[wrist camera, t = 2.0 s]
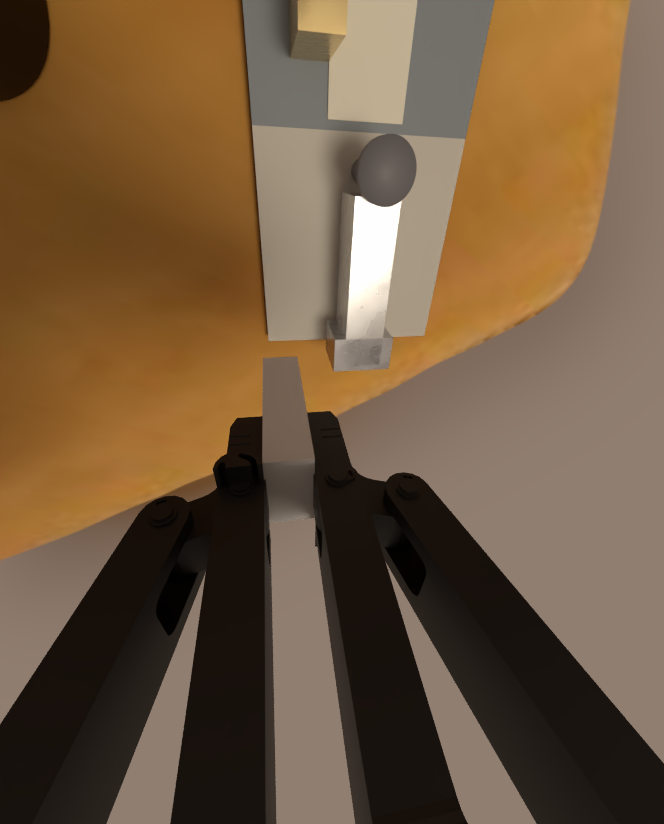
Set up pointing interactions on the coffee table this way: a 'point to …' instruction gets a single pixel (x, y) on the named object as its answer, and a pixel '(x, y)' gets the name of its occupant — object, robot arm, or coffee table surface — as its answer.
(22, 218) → the coffee table surface
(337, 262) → the door board
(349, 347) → the bar
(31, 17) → the mug
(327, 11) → the block
